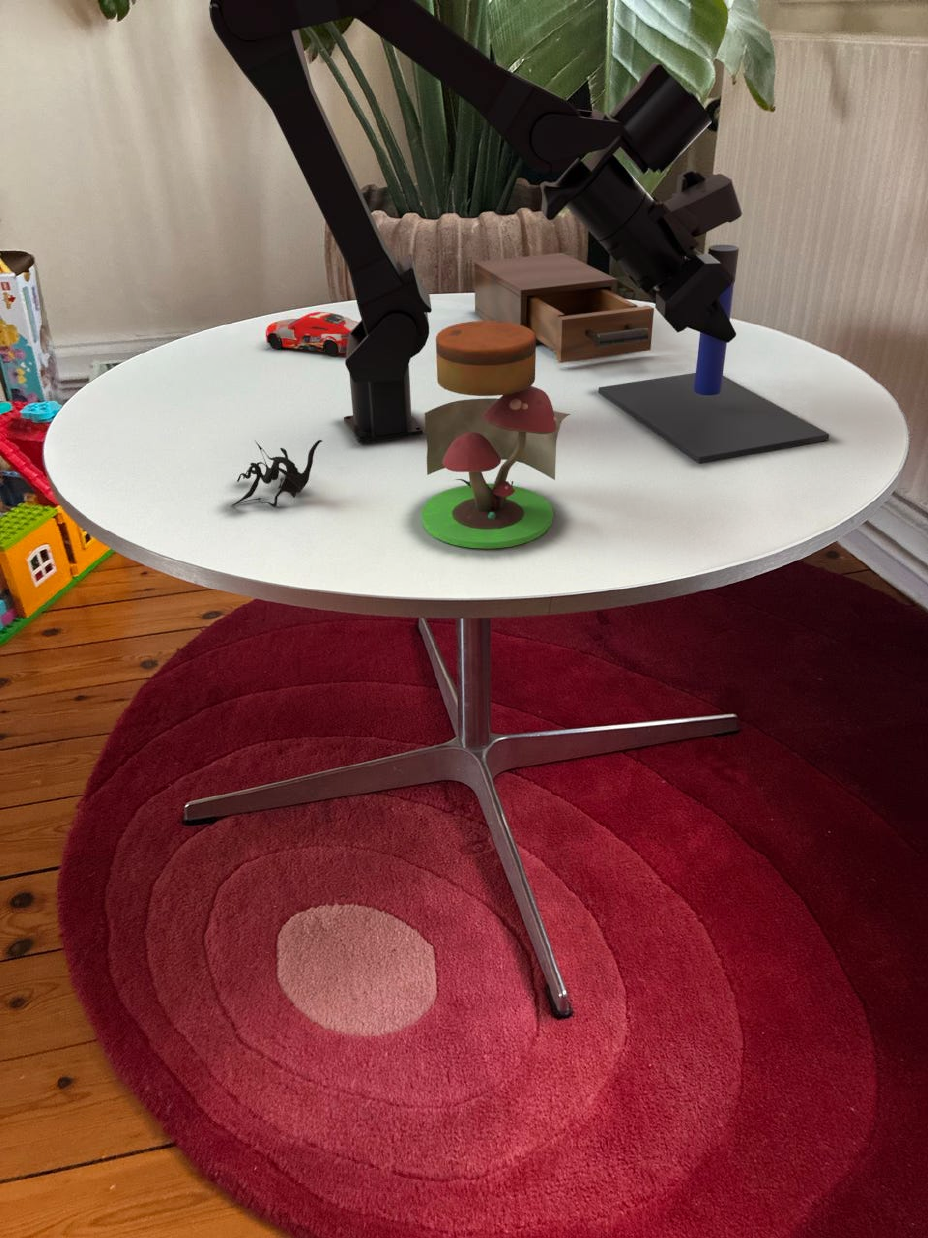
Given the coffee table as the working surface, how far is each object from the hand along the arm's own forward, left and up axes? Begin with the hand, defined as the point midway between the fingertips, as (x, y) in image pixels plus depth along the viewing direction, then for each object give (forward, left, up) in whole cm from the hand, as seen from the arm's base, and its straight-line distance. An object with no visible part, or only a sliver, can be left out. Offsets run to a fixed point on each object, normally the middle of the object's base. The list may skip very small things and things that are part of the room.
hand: (727, 334), depth 93 cm
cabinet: (+36, +3, -8) cm, 37 cm away
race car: (+38, +32, -8) cm, 51 cm away
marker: (0, +1, -6) cm, 6 cm away
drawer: (+24, +3, -7) cm, 25 cm away
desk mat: (0, +1, -8) cm, 8 cm away
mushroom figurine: (-13, +29, -8) cm, 33 cm away
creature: (-2, +45, -8) cm, 46 cm away
